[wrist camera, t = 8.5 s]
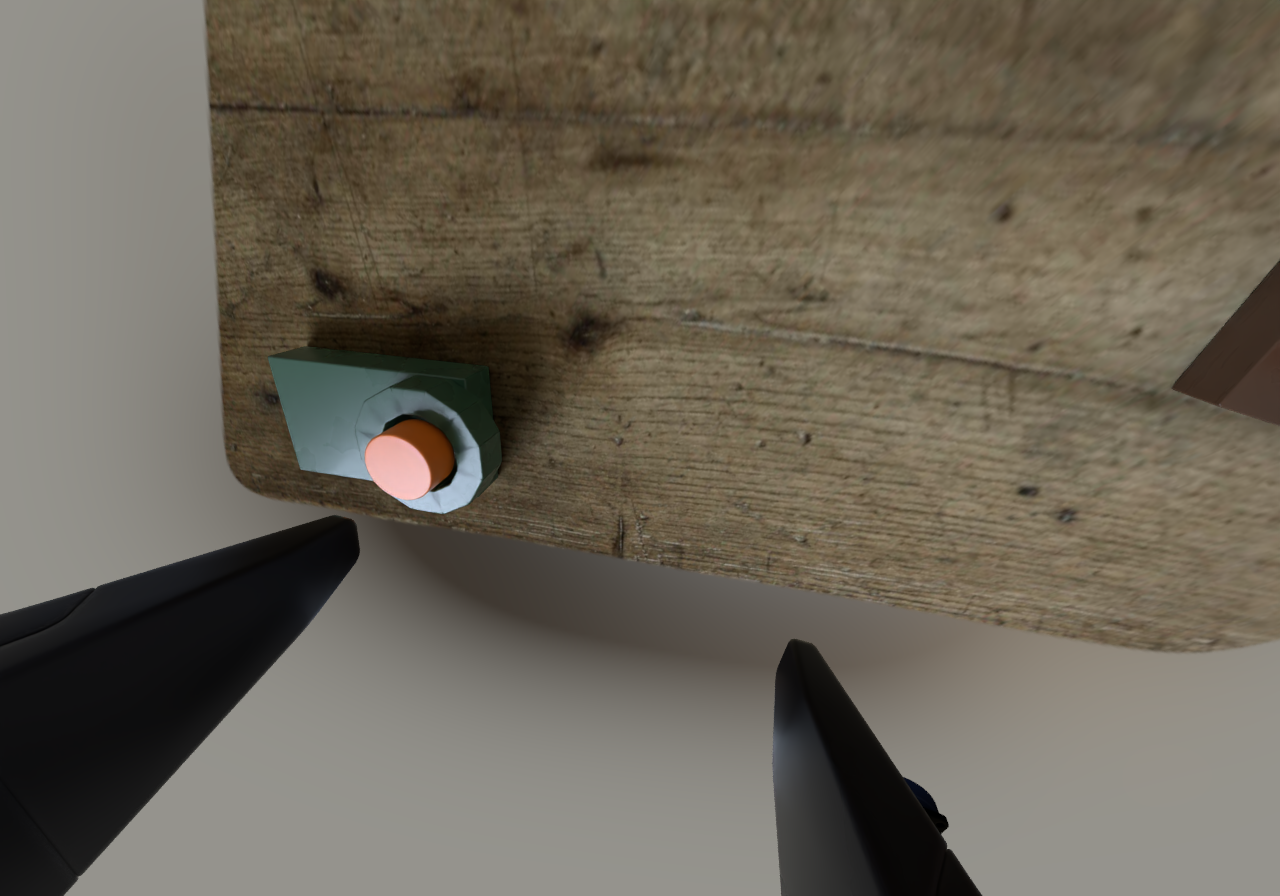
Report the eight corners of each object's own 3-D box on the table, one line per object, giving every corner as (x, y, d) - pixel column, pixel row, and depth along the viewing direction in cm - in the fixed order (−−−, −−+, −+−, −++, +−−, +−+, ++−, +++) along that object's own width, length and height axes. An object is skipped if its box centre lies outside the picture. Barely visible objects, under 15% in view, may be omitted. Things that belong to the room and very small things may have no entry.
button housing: (518, 368, 22) (474, 395, 19) (525, 480, 25) (488, 523, 21) (305, 345, 24) (228, 365, 20) (332, 452, 26) (268, 487, 23)
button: (450, 422, 20) (425, 439, 18) (459, 485, 21) (436, 505, 19) (386, 414, 20) (356, 430, 19) (398, 475, 21) (371, 495, 20)
